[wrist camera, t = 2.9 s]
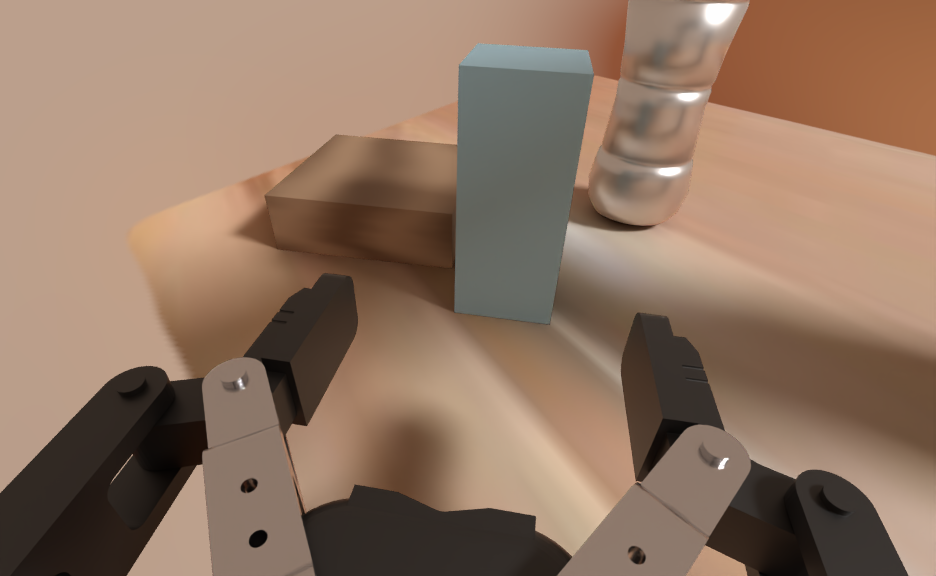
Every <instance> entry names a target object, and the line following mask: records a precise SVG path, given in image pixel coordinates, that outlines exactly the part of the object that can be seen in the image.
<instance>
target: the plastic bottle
mask: <svg viewBox="0 0 936 576" xmlns="http://www.w3.org/2000/svg"><path fill="white" fill-rule="evenodd" d="M749 1H750V0H628V11H627V25H626V35H625V46H624V52H623V58H622V64H621V78H620V79H619V82H618V88H617V94H616V98H615V101H614V105H613V108H612V111H611V115H610V118H609V121H608V125H607V128H606V131H605V135H604V138H603V141H602V145H601V146H600V148H599V150H598V152H597V154H596V157H595V159H594V162H593V165H592V168H591V171H590V174H589V198H590V200H591V202H592V205H593V207H594V209H595V210H596V211H597V212H598V213H600V214H601V215H603V216H605V217H607V218H609V219H611V220H614V221H617V222H621V223H625V224H630V225H641V226H648V225H656V224H660V223H663V222H665V221H666V220H668V219H669V218H670V217H672V216H673V215H674V214H676V213H677V211H678V210H679V208H680V207H681V205H682V203H683V201H684V199H685V198H686V196H687V194H688V191H689V186H690V181H691V175H692V167H693V159H692V157H693V155H694V151H695V147H696V143H697V138H698V134H699V130H700V126H701V122H702V118H703V114H704V110H705V106H706V104H707V101H708V98H709V95H710V93H711V87H712V84H713V83H714V82H715V80H716V77H717V75H718V72H719V70H720V67H721V64H722V61H723V59H724V57H725V54H726V52H727V50H728V48H729V46H730V43H731V42H732V39H733V37H734V35H735V33H736V31H737V29H738V27H739V25H740V22H741V21H742V18H743V16H744V14H745V12H746V10H747V8H748V6H749V4H748V3H749Z"/></svg>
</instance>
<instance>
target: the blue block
mask: <svg viewBox="0 0 936 576" xmlns="http://www.w3.org/2000/svg"><path fill="white" fill-rule="evenodd" d="M593 77H594V73H593V69H592V65H591V61H590V57H589V53H588V50H573V49H558V48H541V47H526V46H510V45H494V44H479V43H478V44H477V45H476V46H475V48H474V49H473V50H472V51H471V52H470V53H469V54H468V55H467V57H466V58H465V59H464V60H463V61H462V62H461V64H459V88H458V140H457V194H456V249H455V303H454V312H455V313H463V314H471V315H479V316H487V317H495V318H502V319H510V320H518V321H526V322H534V323H541V324H549V325H550V320H551V314H552V309H553V303H554V297H555V292H556V286H557V280H558V275H559V269H560V263H561V258H562V252H563V246H564V241H565V235H566V229H567V224H568V218H569V212H570V207H571V201H572V195H573V190H574V184H575V179H576V173H577V167H578V162H579V156H580V150H581V145H582V139H583V133H584V128H585V122H586V116H587V111H588V105H589V99H590V94H591V88H592V82H593Z"/></svg>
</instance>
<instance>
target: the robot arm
mask: <svg viewBox="0 0 936 576" xmlns="http://www.w3.org/2000/svg"><path fill="white" fill-rule="evenodd" d="M357 325H358V316H357V308H356V301H355V293H354V286H353V281H352V278H351V277H350V276H345V275H337V274H328V273H324V274H322V275H321V277H320V278H319V279H318V281H317V282H316V283H315V285H314V286H313V287H312V289H309V288H303V289H302V290H300V291H299V292H297V293H296V294H294V295H293V296H291V297H289V299H288V300H287V301H286V302H285V304H284V305H283V306H282V307H281V309H280V312H278V313H277V314H276V315H275V316H274V318H273V319H272V322H270V323H269V324H268V325H267V327H266V328H265V329H264V330H263V332H262V333H261V334H260V336H259V337H258V338H257V339H256V341H255V342H254V343H253V345H252V346H251V347H250V348H249V350H248V351H247V352H246V353H245V355H244V356H243V357H241V358H235V359H231V360H228V361H225V362H223V363H221V364H219V365H217V366H216V367H214V368H213V369H212V370H211V371H210V372H209V373H208V374H207V375H206V376H205V378H197V379H188V380H178V381H169V378H168V376H167V374H166V373H165V371H164V370H162V369H161V368H158V367H153V366H144V367H137V368H134V369H130V370H128V371H125V372H123V373H121V374H119V375H117V376H115V377H114V378H113V379H111V380H110V381H108V382H107V383H106V384H105V385H104V386H103V387H102V388H101V389H100V390H99V391H98V392H97V393H96V394H95V396H94V397H93V398H92V399H91V400H90V401H89V402H88V403H87V404H86V405H85V406H84V407H83V408H82V409H81V410H80V411H79V412H78V413H77V414H76V415H75V416H74V417H73V418H72V419H71V420H70V421H69V422H68V424H67V425H66V426H65V427H64V428H63V429H62V430H61V431H60V432H59V433H58V434H57V435H56V436H55V437H54V438H53V439H52V440H51V441H50V442H49V443H48V444H47V445H46V446H45V447H44V448H43V449H42V450H41V452H40V453H39V454H38V455H37V456H36V457H35V458H34V459H33V460H32V461H31V462H30V463H29V464H28V465H27V466H26V467H25V468H24V469H23V470H22V471H21V472H20V473H19V475H17V477H15V478H14V480H13V481H12V482H11V483H10V484H9V485H8V486H7V487H6V488H5V489H4V490H3V491H2V492H1V493H0V576H127V574H128V572H129V571H130V569H131V568H132V566H133V564H134V563H135V562H136V560H137V558H138V557H139V555H140V554H141V552H142V551H143V549H144V547H145V545H146V544H147V542H148V541H149V540H150V538H151V536H152V535H153V533H154V532H155V530H156V529H157V527H158V525H159V524H160V522H161V521H162V519H163V518H164V516H165V514H166V513H167V511H168V510H169V508H170V507H171V505H172V503H173V502H174V500H175V499H176V497H177V496H178V494H179V492H180V491H181V489H182V488H183V486H184V484H185V483H186V481H187V480H188V478H189V477H190V475H191V474H192V472H193V470H194V469H195V467H196V466H197V465H201V464H203V471H204V483H205V494H206V505H207V516H208V526H209V527H208V528H209V538H210V549H211V560H212V572H213V576H686V575H687V573H688V571H689V570H690V568H691V566H692V565H693V563H694V562H695V560H696V558H697V557H698V555H699V554H700V552H701V550H702V549H703V547H704V546H705V545H706V546H708V547H710V548H712V549H714V550H716V551H718V552H720V553H722V554H725V555H727V556H729V557H731V558H733V559H735V560H737V561H739V562H741V563H743V564H745V567H746V571H747V575H748V576H908V574H907V572H906V570H905V568H904V566H903V564H902V562H901V560H900V558H899V556H898V554H897V551H896V549H895V547H894V545H893V543H892V541H891V539H890V537H889V535H888V533H887V531H886V529H885V527H884V525H883V523H882V521H881V519H880V517H879V515H878V513H877V511H876V509H875V508H874V506H873V504H872V503H871V502H870V500H869V499H868V498H867V497H866V496H865V495H864V494H863V492H861V491H860V490H859V489H858V488H857V487H856V486H854V485H853V484H851V483H850V482H848V481H847V480H845V479H843V478H842V477H839V476H837V475H835V474H833V473H830V472H826V471H822V470H808V471H805V472H802V473H801V474H800V475H799V476H798V477H797V478H796V479H793V478H791V477H789V476H786V475H784V474H781V473H779V472H776V471H774V470H772V469H769V468H767V467H764V466H762V465H760V464H758V463H756V462H754V461H753V460H751V459H750V458H749V455H748V453H747V451H746V450H745V448H744V447H743V445H742V444H741V443H740V442H739V441H738V440H737V439H735V438H734V437H733V436H732V435H730V434H729V433H727V432H725V430H724V427H723V424H722V421H721V418H720V415H719V412H718V409H717V406H716V403H715V400H714V397H713V394H712V391H711V388H710V385H709V384H708V383H707V382H708V379H707V376H706V374H705V371H703V365H702V362H701V359H700V356H699V353H698V351H697V350H696V349H695V348H694V347H693V346H692V344H691V343H690V342H689V341H688V340H687V339H686V338H684V337H677V336H673V333H672V329H671V326H670V323H669V319H668V317H667V316H661V315H652V314H644V313H637V314H636V316H635V318H634V321H633V324H632V327H631V331H630V334H629V337H628V340H627V343H626V346H625V350H624V353H623V357H622V363H621V378H622V385H623V392H624V399H625V407H626V414H627V421H628V428H629V435H630V443H631V450H632V457H633V464H634V471H635V479H636V481H640V482H641V483H640V484H639V483H638V482H637V483H635V484H634V485H633V486H632V487H631V488H630V489H629V490H628V491H627V493H626V494H625V495H624V496H623V497H622V499H621V500H620V501H619V502H618V503H617V505H616V506H615V507H614V508H613V509H612V511H611V512H610V513H609V514H608V515H607V517H606V518H605V519H604V520H603V521H602V523H601V524H600V525H599V526H598V527H597V529H596V530H595V531H594V532H593V533H592V534H591V536H590V537H589V538H588V539H587V540H586V542H585V543H584V544H583V545H582V546H581V548H580V549H579V550H578V551H577V552H576V554H575V555H574V556H573V557H572V556H571V555H570V554H569V553H568V552H567V551H566V550H565V549H563V548H562V547H561V546H560V545H558V544H557V543H556V542H555V541H553V540H551V539H550V538H548V537H547V536H545V535H543V534H541V533H539V532H537V531H535V523H536V516H532V515H526V514H520V513H515V512H509V511H503V510H498V509H492V508H486V509H473V510H461V511H448V512H442V511H438V510H435V509H433V508H431V507H429V506H427V505H424V504H422V503H420V502H418V501H416V500H414V499H412V498H409V497H407V496H405V495H403V494H401V493H399V492H394V491H389V490H383V489H377V488H372V487H366V486H360V485H355V486H354V488H353V491H352V493H351V496H350V498H349V499H342V500H337V501H332V502H329V503H326V504H323V505H321V506H318V507H316V508H314V509H312V510H310V511H308V512H307V511H306V508H305V505H304V501H303V498H302V494H301V490H300V486H299V482H298V479H297V475H296V471H295V467H294V463H293V459H292V456H291V452H290V448H289V444H288V440H287V437H286V433H287V431H288V430H289V428H290V426H291V424H297V425H303V426H307V425H308V423H309V421H310V420H311V418H312V416H313V414H314V412H315V410H316V408H317V407H318V405H319V403H320V401H321V399H322V397H323V395H324V393H325V392H326V390H327V388H328V386H329V384H330V382H331V380H332V378H333V377H334V375H335V373H336V371H337V369H338V367H339V365H340V364H341V362H342V360H343V358H344V356H345V354H346V352H347V350H348V349H349V347H350V345H351V343H352V341H353V339H354V337H355V334H356V331H357ZM132 454H133V456H132V457H131V459H130V460H129V461H128V462H127V464H126V465H125V466H124V468H123V469H122V470H121V472H120V473H119V474H118V475H117V477H116V478H115V479H114V480H113V478H114V477H115V476H116V474H117V473H118V472H119V470H120V469H121V468H122V466H123V465H124V464H125V463H126V461H127V460H128V459H129V458H130V456H131V455H132ZM112 480H113V482H112ZM111 482H112V483H111Z"/></svg>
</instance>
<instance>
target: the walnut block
mask: <svg viewBox="0 0 936 576" xmlns="http://www.w3.org/2000/svg"><path fill="white" fill-rule="evenodd" d="M456 194H457V145H452V144H440V143H429V142H417V141H405V140H393V139H381V138H370V137H357V136H346V135H335V136H334V137H332V138H331V139H330V140H329V141H328V142H327V143H326V144H324V145H323V146H322V147H321V148H320V149H319V150H317V151H316V152H315V153H314V154H312V155H311V156H310V157H309V158H308V159H307V160H305V161H304V162H303V163H302V164H301V165H300V166H298V167H297V168H296V169H295V170H294V171H293V172H291V173H290V174H289V175H288V176H287V177H286V178H284V179H283V180H282V181H281V182H280V183H278V184H277V185H276V186H275V187H274V188H273V189H271V190H270V191H269V192H268V193H267V194H266V195H265V199H266V203H267V207H268V212H269V216H270V220H271V224H272V228H273V232H274V236H275V241H276V245H277V249H280V250H289V251H298V252H307V253H316V254H325V255H334V256H343V257H352V258H362V259H371V260H380V261H389V262H398V263H407V264H416V265H425V266H434V267H443V268H452V265H453V262H454V259H455V249H456Z"/></svg>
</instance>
